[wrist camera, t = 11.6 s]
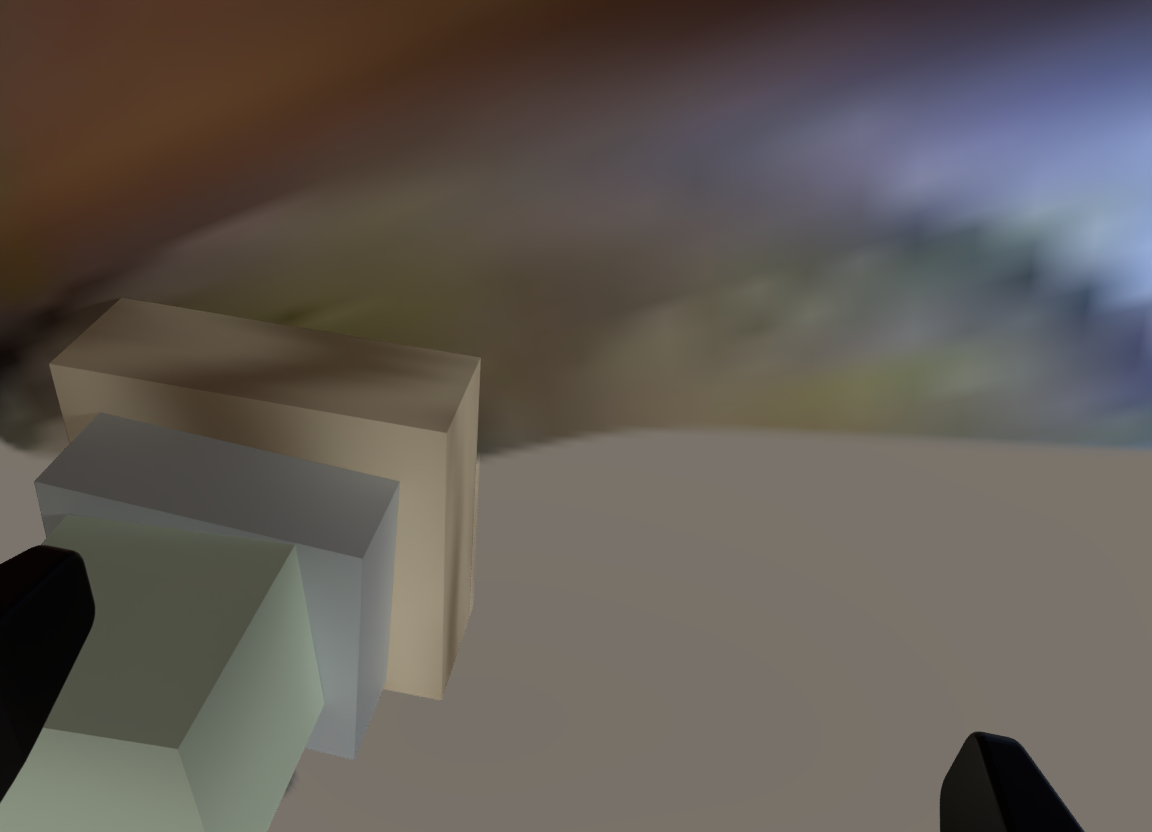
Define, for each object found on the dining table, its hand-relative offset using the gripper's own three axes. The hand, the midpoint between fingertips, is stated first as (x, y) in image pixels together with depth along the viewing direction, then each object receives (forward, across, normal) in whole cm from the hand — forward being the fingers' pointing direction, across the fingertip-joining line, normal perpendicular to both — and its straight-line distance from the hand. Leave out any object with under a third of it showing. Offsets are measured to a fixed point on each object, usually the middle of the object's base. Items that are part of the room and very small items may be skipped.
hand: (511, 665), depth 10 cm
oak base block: (+14, +8, +10) cm, 18 cm away
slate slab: (+10, +8, +10) cm, 16 cm away
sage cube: (+8, +8, +10) cm, 14 cm away
